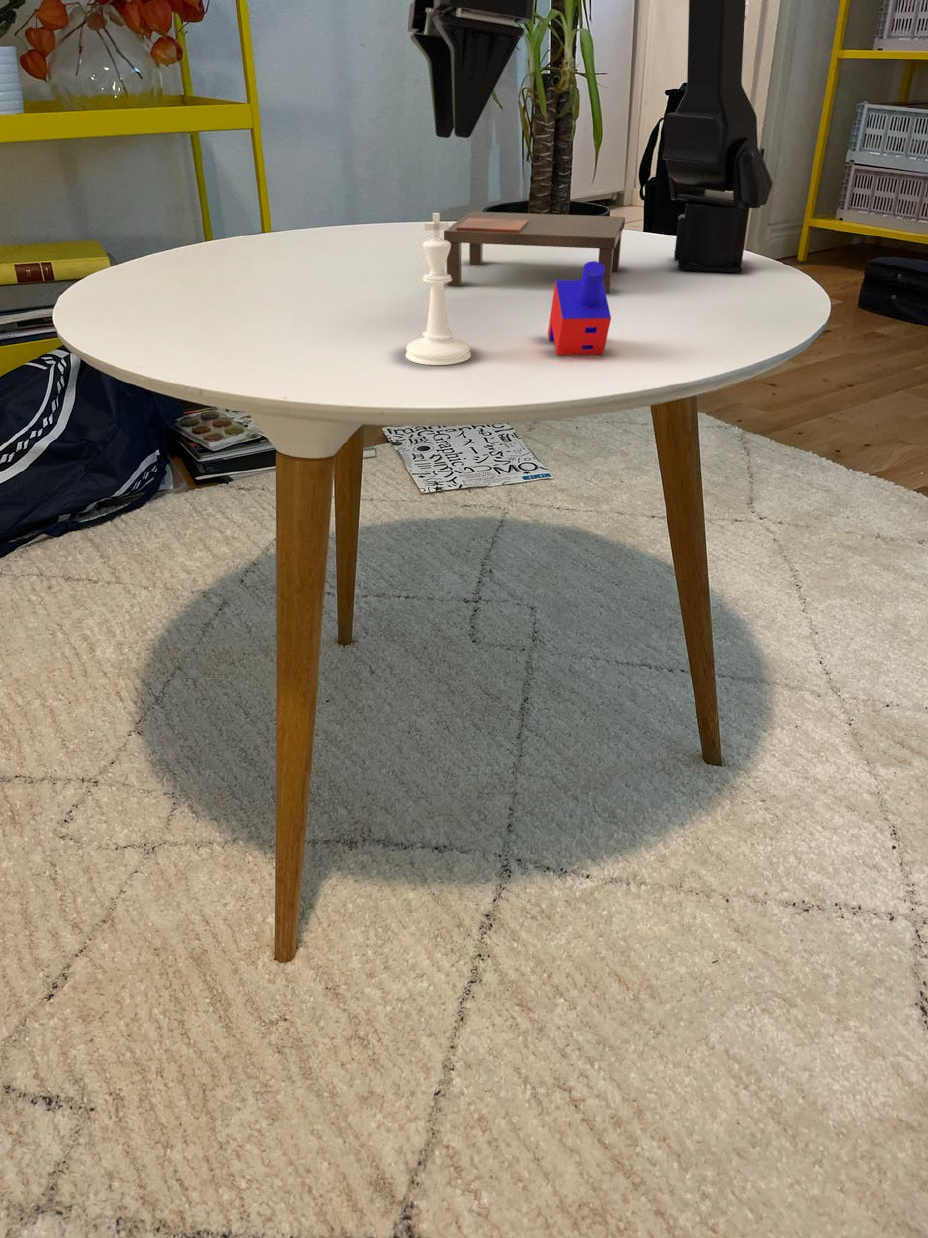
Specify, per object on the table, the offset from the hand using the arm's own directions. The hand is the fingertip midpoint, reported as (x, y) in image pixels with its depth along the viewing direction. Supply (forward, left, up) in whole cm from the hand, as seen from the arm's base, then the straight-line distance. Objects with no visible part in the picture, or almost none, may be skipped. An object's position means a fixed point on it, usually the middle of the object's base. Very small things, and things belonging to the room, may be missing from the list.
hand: (451, 137), depth 74 cm
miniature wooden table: (-4, -19, -14) cm, 24 cm away
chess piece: (-1, +10, -14) cm, 17 cm away
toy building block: (-11, +6, -14) cm, 19 cm away
